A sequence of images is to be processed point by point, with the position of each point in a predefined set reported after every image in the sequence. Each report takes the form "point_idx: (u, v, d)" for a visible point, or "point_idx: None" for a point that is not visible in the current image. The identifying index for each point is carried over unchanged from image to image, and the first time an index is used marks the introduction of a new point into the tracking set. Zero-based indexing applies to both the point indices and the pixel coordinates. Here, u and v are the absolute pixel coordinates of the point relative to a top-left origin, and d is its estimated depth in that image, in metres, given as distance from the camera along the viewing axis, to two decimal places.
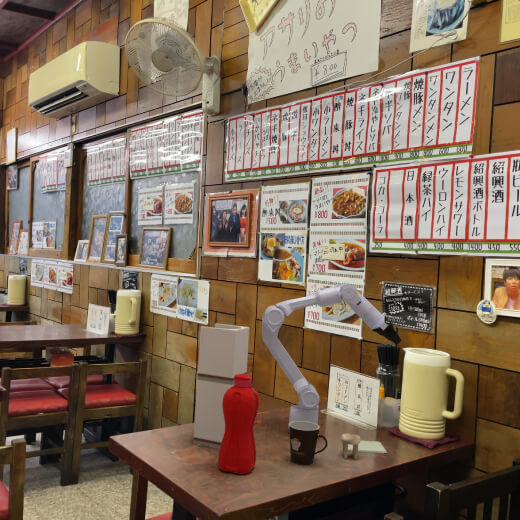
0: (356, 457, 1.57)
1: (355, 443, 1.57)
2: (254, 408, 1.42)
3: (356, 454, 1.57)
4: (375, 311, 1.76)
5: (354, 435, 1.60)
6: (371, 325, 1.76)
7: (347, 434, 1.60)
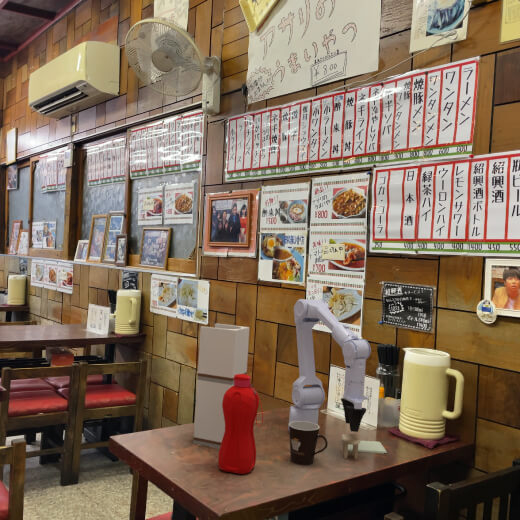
0: (356, 457, 1.57)
1: (355, 443, 1.57)
2: (254, 408, 1.42)
3: (356, 454, 1.57)
4: (362, 388, 1.57)
5: (354, 435, 1.60)
6: (347, 394, 1.57)
7: (347, 434, 1.60)
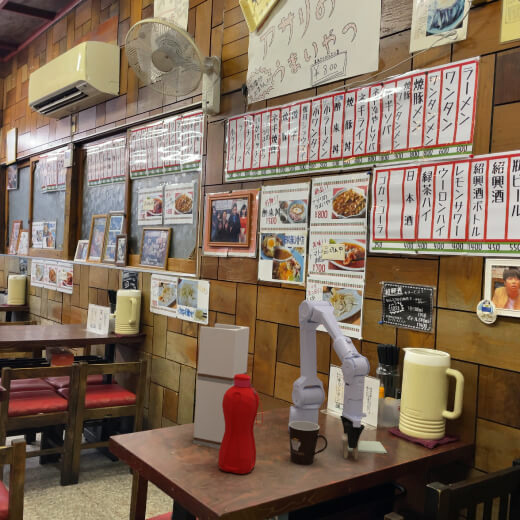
0: (356, 457, 1.57)
1: None
2: (254, 408, 1.42)
3: (356, 454, 1.57)
4: (361, 405, 1.57)
5: None
6: (346, 412, 1.57)
7: None
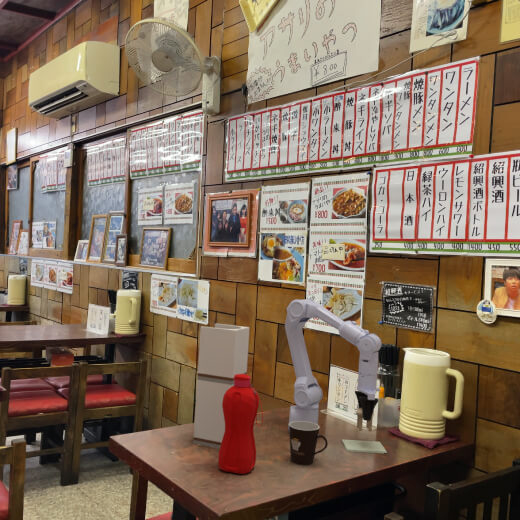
0: (370, 429, 1.66)
1: None
2: (254, 408, 1.42)
3: (370, 426, 1.66)
4: (375, 380, 1.66)
5: None
6: (360, 386, 1.66)
7: (361, 408, 1.69)
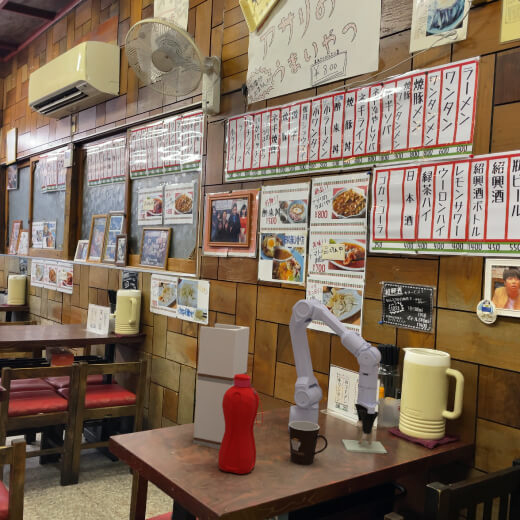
0: (370, 442, 1.66)
1: None
2: (254, 408, 1.42)
3: (370, 439, 1.66)
4: (375, 393, 1.66)
5: None
6: (360, 400, 1.66)
7: (361, 421, 1.70)
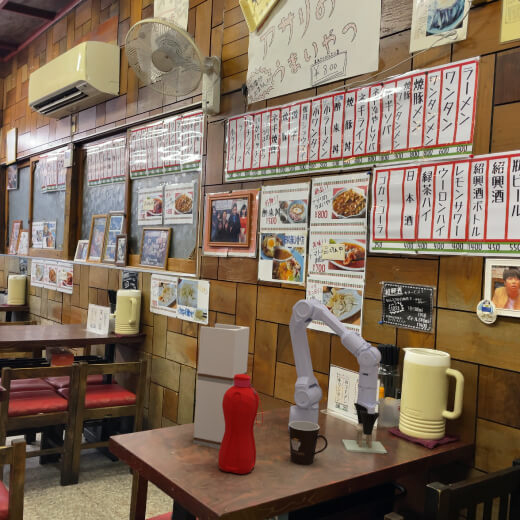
0: (370, 446, 1.66)
1: None
2: (254, 408, 1.42)
3: (370, 443, 1.66)
4: (375, 393, 1.66)
5: None
6: (360, 400, 1.66)
7: (361, 424, 1.70)
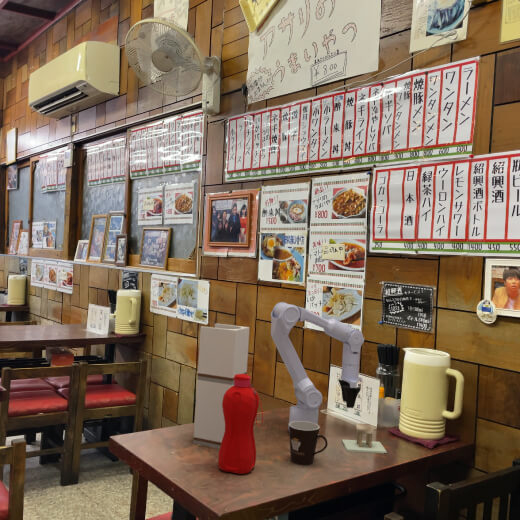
0: (370, 446, 1.66)
1: (369, 432, 1.66)
2: (254, 408, 1.42)
3: (370, 443, 1.66)
4: (357, 370, 1.80)
5: (368, 425, 1.69)
6: (344, 376, 1.80)
7: (361, 424, 1.70)
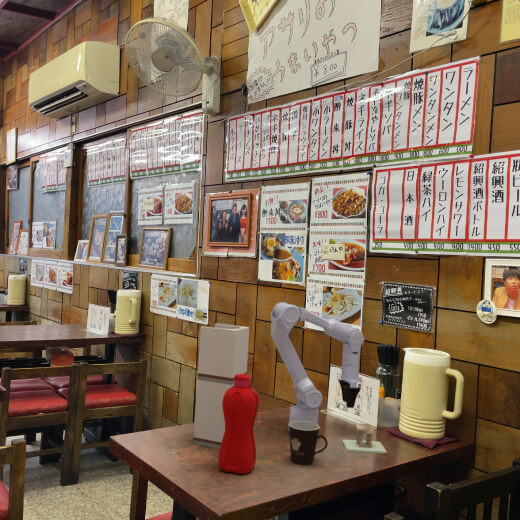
0: (370, 446, 1.66)
1: (369, 432, 1.66)
2: (254, 408, 1.42)
3: (370, 443, 1.66)
4: (357, 370, 1.80)
5: (368, 425, 1.69)
6: (344, 376, 1.80)
7: (361, 424, 1.70)
